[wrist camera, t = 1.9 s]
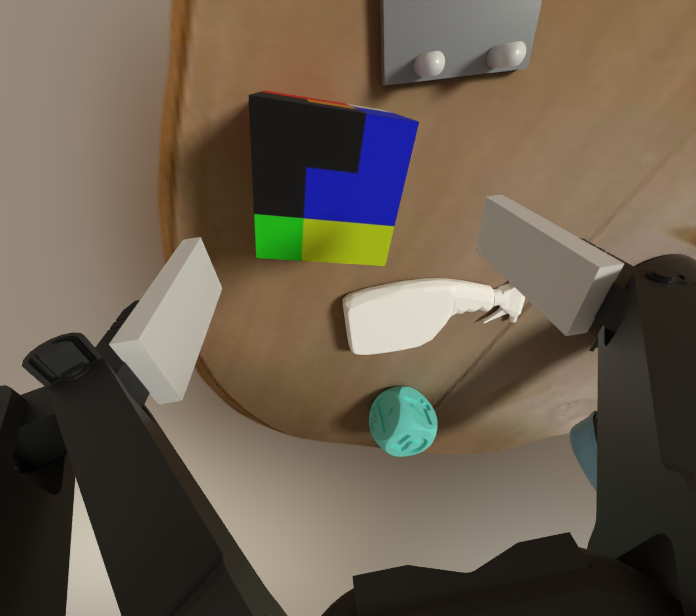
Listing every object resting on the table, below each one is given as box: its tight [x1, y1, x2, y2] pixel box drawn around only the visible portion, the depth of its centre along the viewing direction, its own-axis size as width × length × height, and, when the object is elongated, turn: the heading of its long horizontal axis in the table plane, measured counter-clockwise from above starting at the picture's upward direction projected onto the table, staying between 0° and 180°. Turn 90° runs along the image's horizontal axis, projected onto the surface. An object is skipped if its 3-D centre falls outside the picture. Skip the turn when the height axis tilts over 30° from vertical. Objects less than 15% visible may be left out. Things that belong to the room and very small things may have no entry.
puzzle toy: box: [249, 91, 419, 266], centre depth 24 cm, size 10×10×10 cm
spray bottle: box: [343, 278, 525, 355], centre depth 40 cm, size 3×11×24 cm
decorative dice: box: [369, 386, 437, 457], centre depth 49 cm, size 8×8×8 cm
